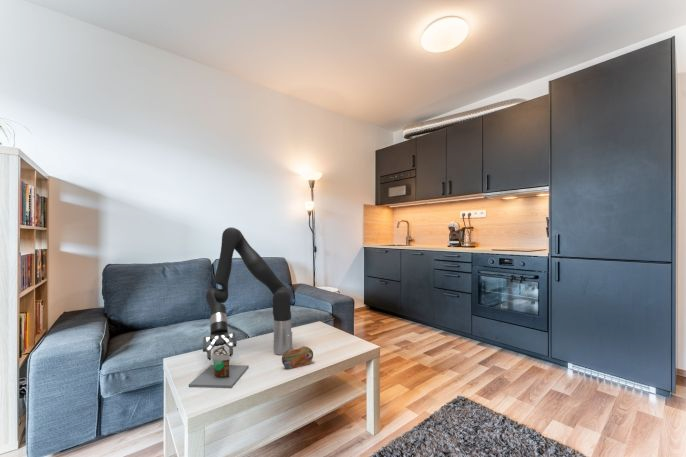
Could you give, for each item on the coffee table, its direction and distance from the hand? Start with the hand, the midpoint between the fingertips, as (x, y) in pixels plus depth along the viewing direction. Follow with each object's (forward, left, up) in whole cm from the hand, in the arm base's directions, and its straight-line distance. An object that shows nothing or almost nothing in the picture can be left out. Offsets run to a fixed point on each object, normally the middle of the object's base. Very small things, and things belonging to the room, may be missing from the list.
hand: (220, 357), depth 128 cm
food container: (0, +1, -7) cm, 7 cm away
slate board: (-1, +1, -8) cm, 8 cm away
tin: (-32, -11, -8) cm, 35 cm away
